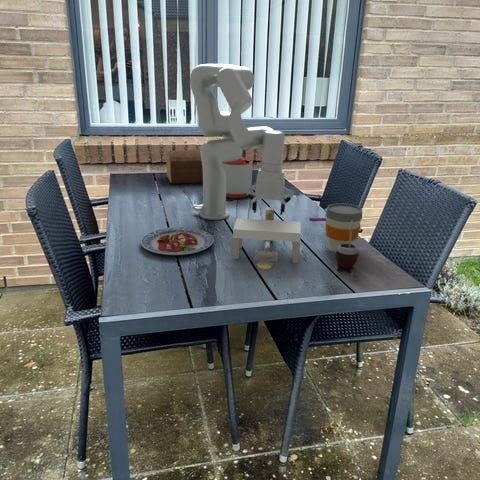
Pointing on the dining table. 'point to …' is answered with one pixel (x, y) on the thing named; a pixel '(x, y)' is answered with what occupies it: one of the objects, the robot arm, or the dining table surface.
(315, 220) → the squeegee
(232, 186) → the citrus juicer
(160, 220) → the dining table surface
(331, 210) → the reusable coffee cup
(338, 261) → the mate gourd
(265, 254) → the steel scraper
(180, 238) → the ceramic plate
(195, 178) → the bread
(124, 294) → the dining table surface
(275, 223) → the white bench
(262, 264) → the brass token
